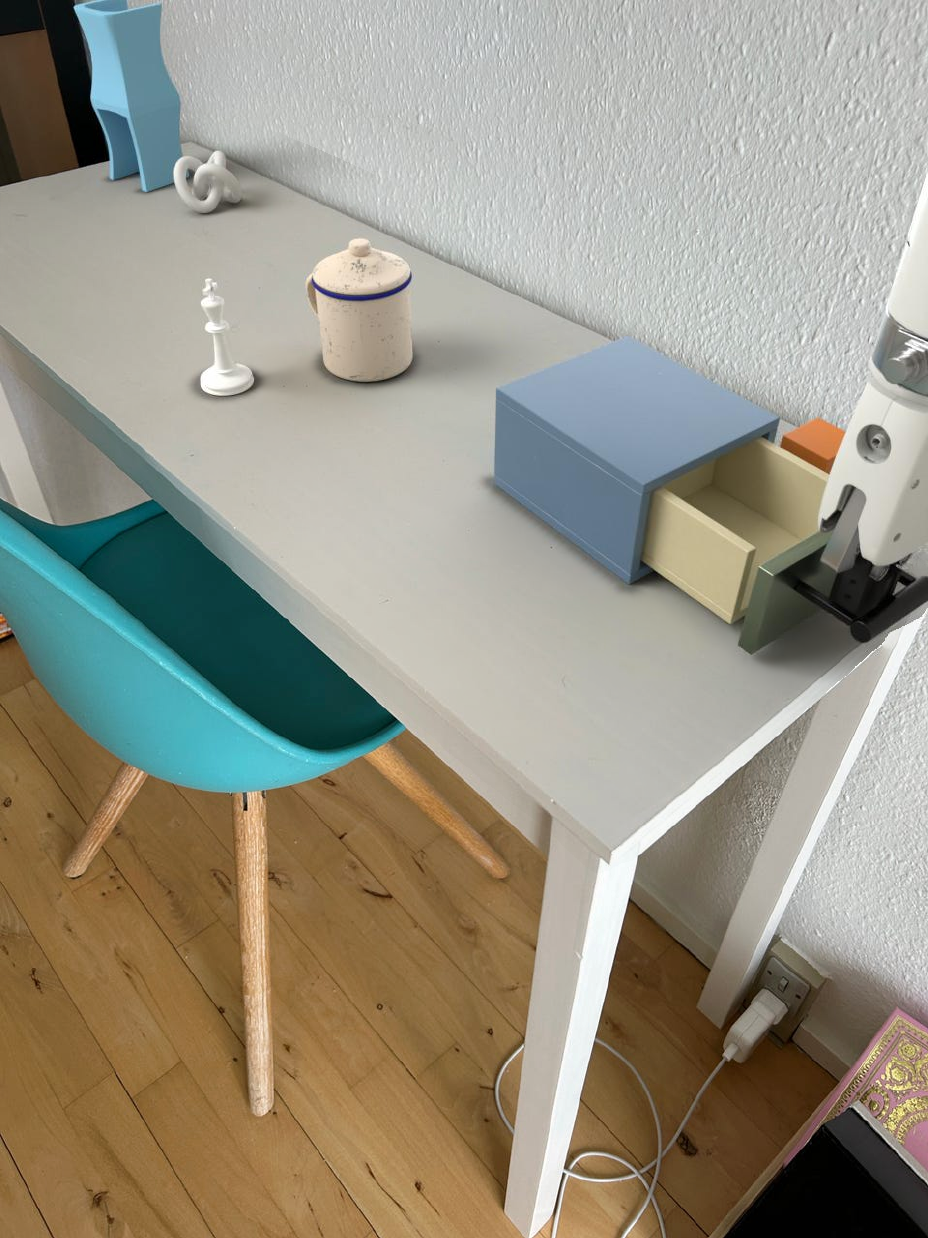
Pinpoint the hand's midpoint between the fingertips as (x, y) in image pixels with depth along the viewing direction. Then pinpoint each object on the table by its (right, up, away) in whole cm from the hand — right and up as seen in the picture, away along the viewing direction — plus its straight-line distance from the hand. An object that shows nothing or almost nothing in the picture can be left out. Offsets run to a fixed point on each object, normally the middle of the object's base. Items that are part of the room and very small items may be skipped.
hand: (855, 608), depth 63 cm
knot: (-57, +52, +61) cm, 98 cm away
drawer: (-4, +2, +6) cm, 8 cm away
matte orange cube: (+3, +10, +16) cm, 19 cm away
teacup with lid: (-36, +25, +32) cm, 54 cm away
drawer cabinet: (-13, +9, +15) cm, 22 cm away
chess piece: (-48, +21, +28) cm, 60 cm away
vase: (-67, +59, +68) cm, 112 cm away
